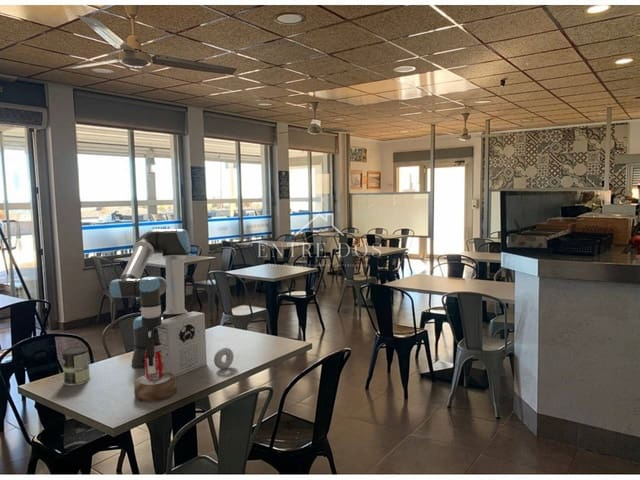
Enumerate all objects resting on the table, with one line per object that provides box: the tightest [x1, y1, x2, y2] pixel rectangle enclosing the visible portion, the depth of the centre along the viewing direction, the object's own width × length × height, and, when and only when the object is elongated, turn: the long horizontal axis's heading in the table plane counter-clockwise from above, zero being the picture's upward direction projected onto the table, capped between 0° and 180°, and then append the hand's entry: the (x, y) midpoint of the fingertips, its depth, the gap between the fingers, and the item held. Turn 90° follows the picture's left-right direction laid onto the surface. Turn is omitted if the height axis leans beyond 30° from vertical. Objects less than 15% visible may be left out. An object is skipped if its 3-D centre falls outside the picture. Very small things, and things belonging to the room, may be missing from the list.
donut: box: [213, 346, 235, 370], centre depth 223 cm, size 10×4×10 cm, turn 134°
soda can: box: [144, 347, 164, 381], centre depth 196 cm, size 7×7×12 cm
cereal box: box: [158, 311, 208, 378], centre depth 222 cm, size 22×8×25 cm, turn 147°
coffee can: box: [61, 345, 91, 387], centre depth 212 cm, size 10×10×14 cm
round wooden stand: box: [133, 372, 177, 403], centre depth 196 cm, size 16×16×6 cm
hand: (154, 367), depth 196 cm, fingers open, 13 cm apart
